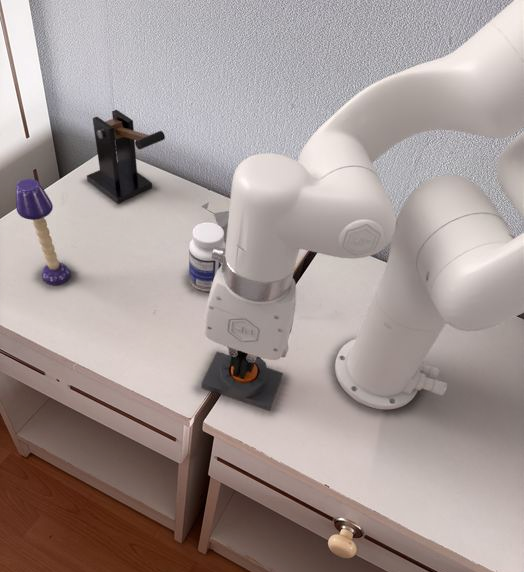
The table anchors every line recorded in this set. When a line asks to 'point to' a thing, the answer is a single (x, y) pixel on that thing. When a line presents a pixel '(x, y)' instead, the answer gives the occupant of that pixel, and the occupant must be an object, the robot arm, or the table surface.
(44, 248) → the toy lamp
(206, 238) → the pill bottle
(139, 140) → the lever
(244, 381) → the button
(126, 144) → the bracket
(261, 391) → the button box
